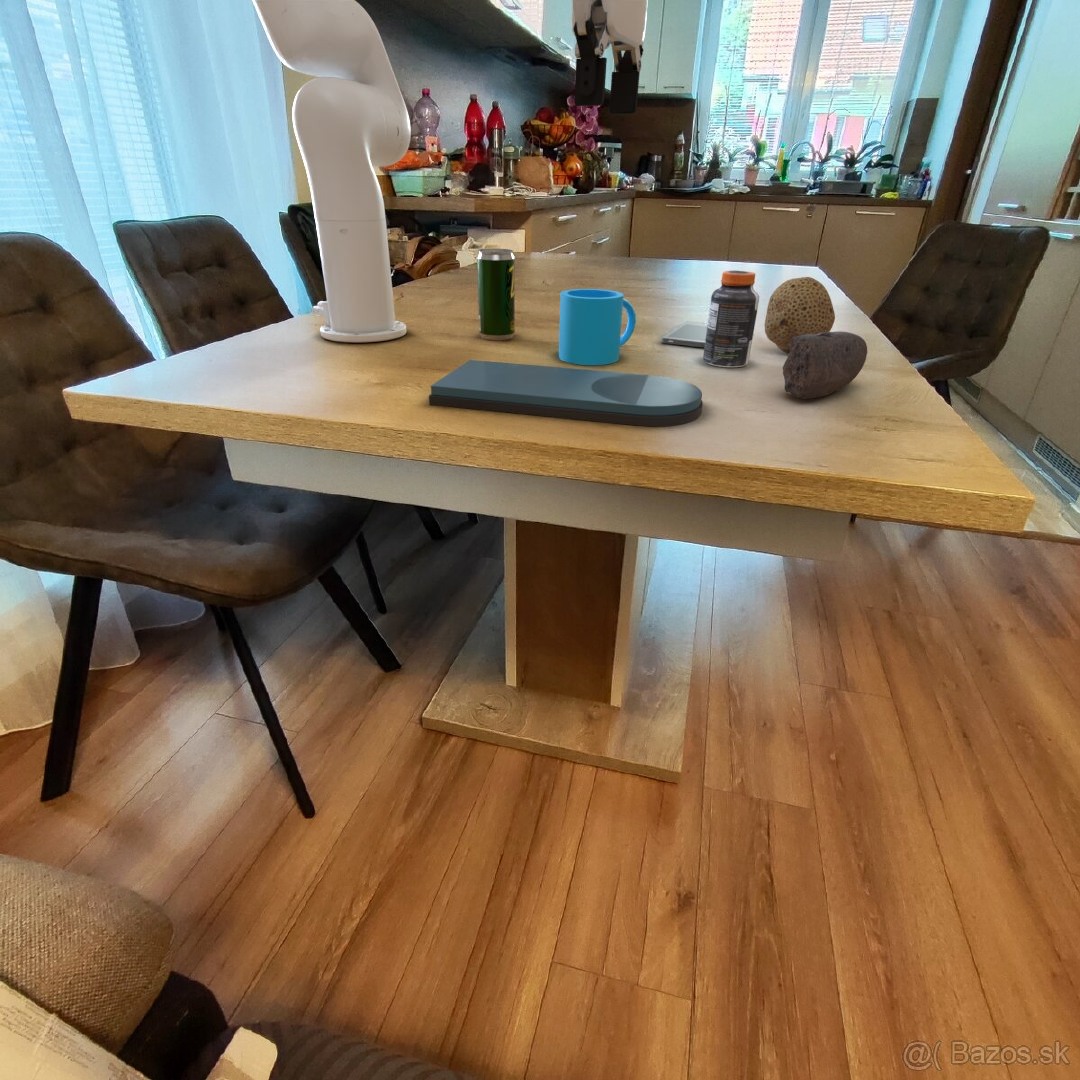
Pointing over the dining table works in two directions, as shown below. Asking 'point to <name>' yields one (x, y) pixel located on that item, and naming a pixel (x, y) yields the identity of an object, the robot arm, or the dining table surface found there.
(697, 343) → the smartphone
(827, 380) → the rock
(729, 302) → the pill bottle
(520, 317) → the dining table surface
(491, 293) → the beer can
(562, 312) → the mug
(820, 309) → the natural sponge
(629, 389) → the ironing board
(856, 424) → the dining table surface
